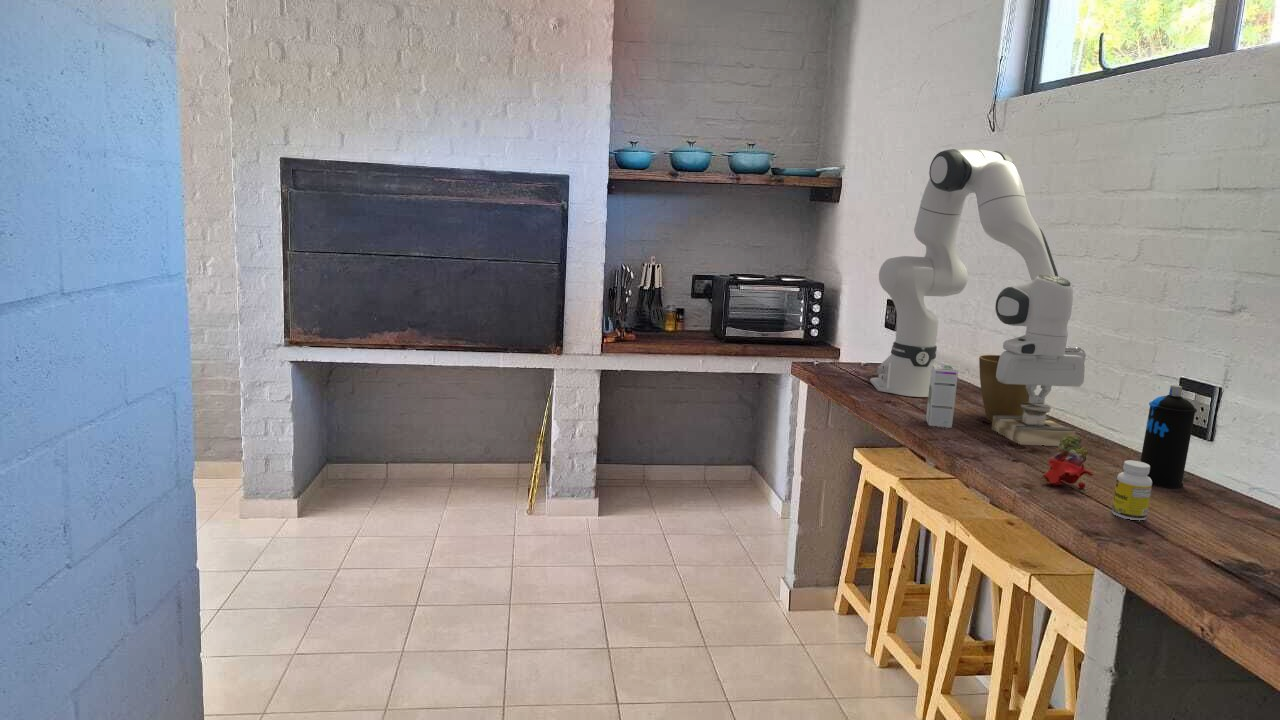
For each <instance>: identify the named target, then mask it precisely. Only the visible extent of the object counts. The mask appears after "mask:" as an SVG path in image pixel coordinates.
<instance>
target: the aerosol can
mask: <svg viewBox="0 0 1280 720" xmlns="http://www.w3.org/2000/svg"><path fill="white" fill-rule="evenodd" d="M1182 389H1183V386H1181V385H1177V384H1170V388H1169V393H1168V394H1167V395H1161V396H1158V397H1156V398H1154V399H1153V400H1152V401H1150V402H1149V403H1148V405H1149V409H1148V416H1147V420H1146V421H1147V422H1146V427H1145V432H1144V440H1143V444H1142V450H1141V455H1140V457H1141V458H1140V460H1139V462H1143V463H1146V464H1148V465H1150V471H1149V474H1148V475H1147V476H1148V477H1149V478H1151V480H1152V486H1154V485H1155V487H1158V486H1159V487H1158V488H1164V487H1166V489H1181V488H1183V486H1184V483H1183V480H1184V475H1185V469H1186V463H1187V459H1188V452H1189V447H1190V442H1191V436H1192V433H1193V431H1192V430H1193V427H1194V421H1195V420H1194V419H1195V417H1196V416H1195V415H1196V413H1197V412H1198V410H1197V408H1196V407H1195V406H1194V405H1193V403H1191V401H1189V400H1188V399H1185V398H1184V397H1182V396H1181V395H1182ZM1180 487H1181V488H1180Z"/></svg>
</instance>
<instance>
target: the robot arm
mask: <svg viewBox="0 0 1280 720" xmlns="http://www.w3.org/2000/svg"><path fill="white" fill-rule="evenodd" d="M929 166H930V167H929V171H928V172H929V179H928V182H927V183H926V187H925V189H924V192H923V194H922V198H921V200H920V205H919V208H918V213H917V216H916V219H915V225H914V229H913V232H914V235H915V238H916V239H917V241H919V242H920V243H921V244H922V245H924V246H925V255H924V256H909V255H902V256H896V257H890V258H888V259H886V260H885V261H884V262H883V263H882V265H881V266H880V268H879V272H878V281H879V282H878V283H879V285H880V286H881V288H882V289H883V291H884V292H886V293H887V294H888V295H889V297H890V298H891V300H892V302H893V305H894V307H895V311H896V329H895V330H896V331H895V341H893V342H892V346H891V351H890V355H889V356H888V357H887V358H886V359H884V361H883V362H881V363H880V365H878V366H876V374H878V377H871V378H870V379H869V382H870V383H871V384H872V385H873V387H874V388H875V390H877V391H878V392H884V393H889V394H894V395H898V396H899V395H900V396H906V397H915V398H928V395H929V386H930V377H931V369H932V365H938V364H937V362H936V361H935V359H936V357H937V353H938V351H937V349H938V347H937V345H936V343H937V336H938V329H939V327H938V326H939V320H938V317H937V316H936V314H935V313H933V312H932V311H931V310H929V309H927V307H926V305H925V299H924V298H925V297H949V296H954V295H958V294H960V293H961V292H963V290H964V289H965V288H966V286H967V284H968V280H969V274H968V269H967V267H966V266H965V264H964V262H963V261H962V260H961V259H960V258H959V255H958V252H957V249H956V242H957V240H956V239H957V233H958V230H959V226H960V220H961V216H962V214H963V213H962V212H963V208H964V204H965V200H966V198H967V196H968V195H969V194H975V197H976V203H977V209H978V215H979V216H978V217H979V220H980V224H981V226H982V229H983V230H984V233H985V234H987V236H989V238H991V239H992V240H994V241H997V242H999V243H1002V244H1004V245H1006V246H1008V247H1009V248H1012V249H1013V250H1015V251H1016V252H1017V253H1018V254H1019V255H1021V257H1022V258H1023V260H1024V261H1025V264H1026V265H1025V266H1026V268H1027V272H1028V273H1029V276H1030V281H1028V282H1024V283H1023V284H1017V285H1012V286H1008V287H1005V288H1004V289H1002V290H1001V292H1000V293H999V294H998V295H997V297H996V300H995V305H994V307H995V313H996V316H997V318H998V319H999V321H1000V322H1001V323H1003V324H1004V325H1008V326H1012V327H1013V326H1014V327H1026V330H1025V334H1024V335H1020V336H1017V337H1015V338H1014V337H1013V338H1010V339H1007V340H1005V341H1003V343H1002V348H1003V349H1004V351H1003V352H1002V353H1001V354H999V355H1000V358H999V361H998V365H997V371H996V378H997V380H998V381H999V382H1001V383H1004V384H1017V385H1026V389H1027V392H1028V394H1029V403H1031V404H1045V400H1046V397H1047V396H1048V395H1049V394H1050V392H1051V391H1052V387H1074V388H1076V387H1077V388H1080V387H1081V386H1082V385H1083V384H1084V382H1085V368H1086V367H1085V362H1086V356H1087V355H1086V352H1085V350H1084V349H1082V347H1078V346H1075V347H1073V346H1072V347H1071V346H1067V341H1068V335H1069V332H1068V324H1069V321H1070V319H1071V316H1072V309H1073V302H1074V301H1073V300H1074V298H1073V297H1074V296H1073V295H1074V293H1073V292H1074V290H1073V286H1072V285H1073V284H1072V283H1071V281H1069V280H1068V279H1066V278H1064V277H1061V276H1060V275H1059V274H1058V271H1057V268H1056V265H1055V262H1054V258H1053V257H1052V253H1051V250H1050V247H1049V244H1048V241H1047V239H1046V236H1045V234H1044V232H1043V230H1042V229H1041V228H1040V227H1039V225H1038V224H1037V223H1036V220H1035V219H1034V218H1033V216H1032V215H1033V214H1032V213H1031V211H1030V207H1029V206H1028V201H1027V196H1026V192H1025V189H1024V185H1023V181H1022V179H1021V177H1020V174H1019V171H1018V169H1017V167H1016V166H1015V165H1014V161H1013V159H1012V158H1011V156H1009V155H1008V154H1006V153H1004V152H1001V151H997V150H986V149H979V148H974V149H953V148H951V149H946V150H942V151H939V152H938V153H937V154H936V155H935V156H934V157H933V158H932V160H931V162H930V165H929ZM1037 386H1040V389H1041V391H1040V392H1039V393H1038V394H1037V395H1036V392H1035V391H1036V390H1037V388H1038V387H1037Z"/></svg>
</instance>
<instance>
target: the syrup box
mask: <svg viewBox="0 0 1280 720" xmlns="http://www.w3.org/2000/svg"><path fill="white" fill-rule="evenodd" d="M958 378H959V370H958V369H957V367H955V366H953V365H947V364H937V365H932V369H931V377H930V386H929V395H928V397H927V405H926V413H925V415H926V417H925V422H926V423H927V425H928V426H929V427H935V426H937V428H944V427H945V429H952V428H953V422H954V421H953V420H954V414H955V413H954V412H955V407H956V406H955V405H956V404H955V403H956V397H957V395H956V394H957V388H958V387H957V386H958V385H957V384H958Z"/></svg>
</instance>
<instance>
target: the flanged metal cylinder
mask: <svg viewBox="0 0 1280 720" xmlns="http://www.w3.org/2000/svg"><path fill="white" fill-rule="evenodd" d="M1020 408H1021V409H1023V415H1022V422H1021V424H1023V425H1025V426H1044V425H1045V419H1046V417H1047V414H1048V413H1050V412H1051V406H1050V405H1048V404H1045V403H1044V404H1031V403H1029V402H1022V403H1021V406H1020Z"/></svg>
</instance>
